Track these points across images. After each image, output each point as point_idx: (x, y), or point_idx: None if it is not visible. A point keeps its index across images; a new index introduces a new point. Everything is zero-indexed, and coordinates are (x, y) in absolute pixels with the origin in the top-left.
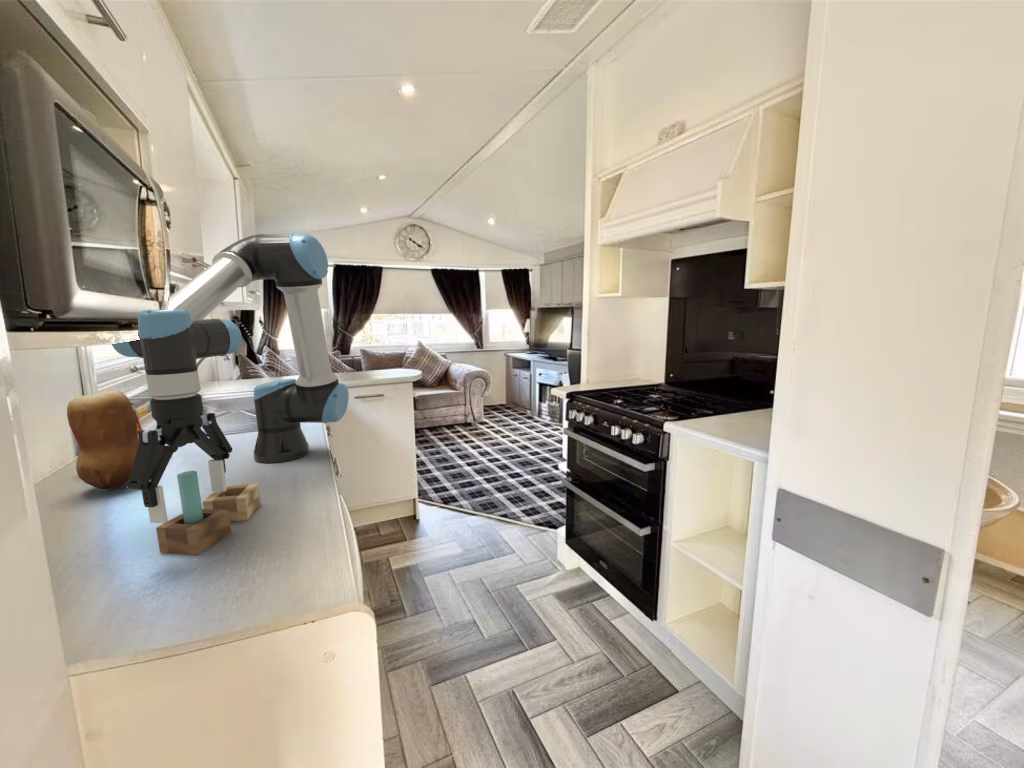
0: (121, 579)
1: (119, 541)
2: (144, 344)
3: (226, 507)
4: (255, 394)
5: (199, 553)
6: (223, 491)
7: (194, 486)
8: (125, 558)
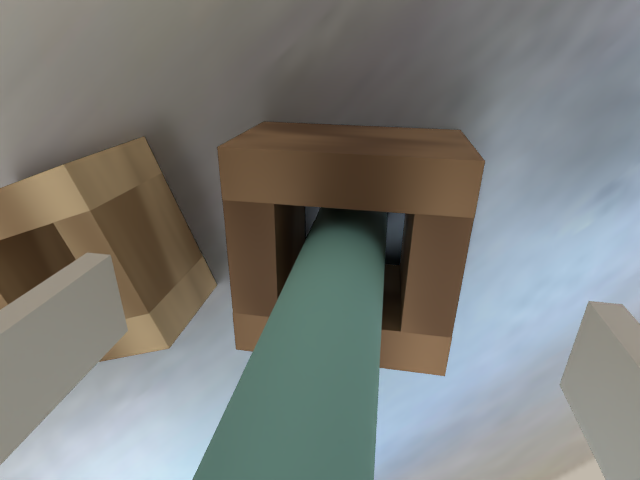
0: (625, 299)
1: None
2: None
3: (143, 238)
4: None
5: (453, 131)
6: (111, 258)
7: (311, 382)
8: (469, 380)
